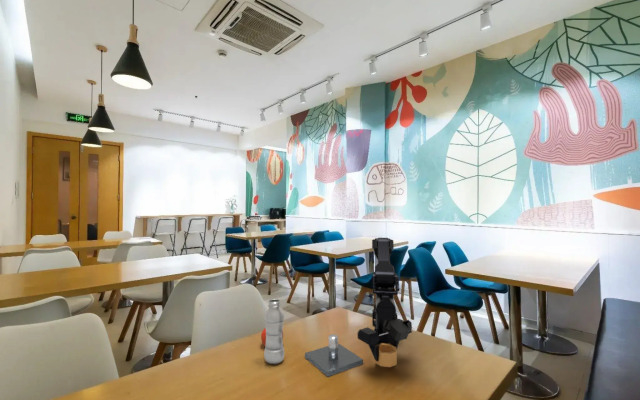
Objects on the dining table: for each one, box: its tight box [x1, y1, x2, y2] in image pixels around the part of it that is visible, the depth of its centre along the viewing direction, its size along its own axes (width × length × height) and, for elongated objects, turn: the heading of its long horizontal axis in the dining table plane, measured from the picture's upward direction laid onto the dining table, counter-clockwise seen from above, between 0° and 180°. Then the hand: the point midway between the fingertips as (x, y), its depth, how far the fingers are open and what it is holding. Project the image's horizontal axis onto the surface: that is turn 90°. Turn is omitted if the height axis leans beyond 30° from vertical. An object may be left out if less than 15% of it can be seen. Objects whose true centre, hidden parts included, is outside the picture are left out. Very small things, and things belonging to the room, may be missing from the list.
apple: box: [260, 328, 284, 346], centre depth 110 cm, size 8×8×8 cm
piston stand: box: [304, 334, 364, 378], centre depth 99 cm, size 14×14×8 cm
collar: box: [373, 343, 398, 368], centre depth 95 cm, size 7×7×4 cm
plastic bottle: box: [263, 298, 285, 365], centre depth 98 cm, size 6×7×20 cm
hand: (385, 357), depth 95 cm, fingers closed on collar, 7 cm apart
